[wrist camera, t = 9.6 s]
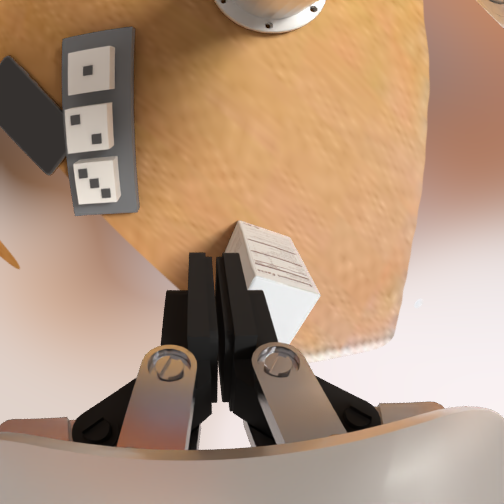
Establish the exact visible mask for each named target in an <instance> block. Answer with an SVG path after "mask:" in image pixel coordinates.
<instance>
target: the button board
mask: <svg viewBox="0 0 504 504" xmlns="http://www.w3.org/2000/svg"><path fill="white" fill-rule="evenodd" d="M134 42H135V28H133V27H125V28H118V29H111V30H105V31H99V32H93V33H88V34H83V35H78V36H74V37H69V38H65V39H63V42H62V106H63V124H64V137H65V148H66V158H67V166H68V174H69V181H70V188H71V194H72V201H73V207H74V213H75V216H81V215H97V214H114V213H133V212H138V210H139V208H140V206H139V196H138V184H137V170H136V154H135V134H134ZM105 46H112V47H115V89H109V90H101V91H94V92H88V93H82V94H76V95H69V96H68V53H72V52H77V51H82V50H87V49H93V48H98V47H105ZM110 102H112V112H113V135H114V146H113V147H111V148H110V149H107V150H97V151H87V152H79V153H71V154H68V149H67V138H66V125H65V110H66V109H70V108H74V107H81V106H87V105H94V104H102V103H110ZM109 156H118V169H119V180H120V190H121V196H120V198H119V200H118V201H117V202H108V203H93V204H79V203H78V196H77V190H76V183H75V175H74V167H73V164H74V163H76V162H77V161H78V160H80V159H89V158H99V157H109Z"/></svg>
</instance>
